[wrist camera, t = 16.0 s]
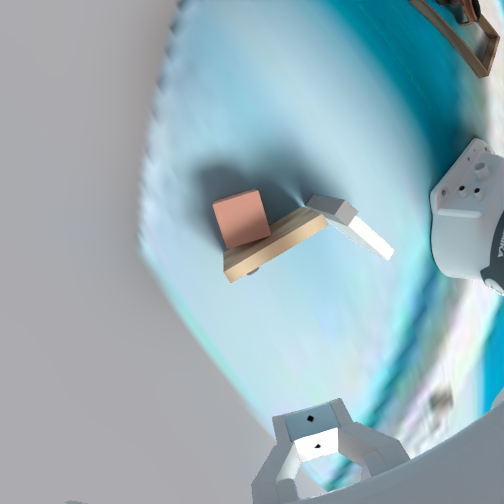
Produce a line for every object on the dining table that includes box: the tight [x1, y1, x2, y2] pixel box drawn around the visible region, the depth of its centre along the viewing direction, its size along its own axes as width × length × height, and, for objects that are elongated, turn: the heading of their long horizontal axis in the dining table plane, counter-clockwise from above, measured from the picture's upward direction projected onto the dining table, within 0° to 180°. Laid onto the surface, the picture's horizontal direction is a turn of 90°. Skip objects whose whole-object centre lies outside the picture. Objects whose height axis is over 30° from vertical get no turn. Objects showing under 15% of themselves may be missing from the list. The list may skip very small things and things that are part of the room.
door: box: [224, 207, 328, 283], centre depth 29 cm, size 10×2×7 cm, turn 120°
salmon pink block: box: [212, 189, 271, 249], centre depth 29 cm, size 4×4×5 cm
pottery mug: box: [435, 0, 481, 25], centre depth 23 cm, size 12×10×8 cm
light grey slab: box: [305, 194, 395, 260], centre depth 28 cm, size 2×8×9 cm, turn 55°
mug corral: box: [409, 0, 500, 78], centre depth 25 cm, size 15×17×2 cm
